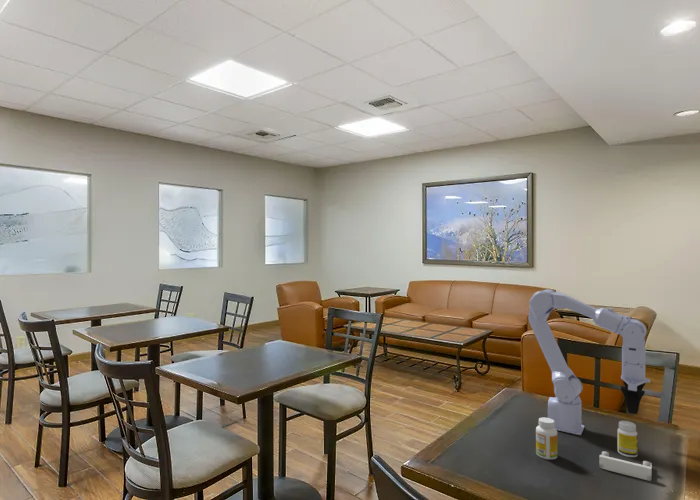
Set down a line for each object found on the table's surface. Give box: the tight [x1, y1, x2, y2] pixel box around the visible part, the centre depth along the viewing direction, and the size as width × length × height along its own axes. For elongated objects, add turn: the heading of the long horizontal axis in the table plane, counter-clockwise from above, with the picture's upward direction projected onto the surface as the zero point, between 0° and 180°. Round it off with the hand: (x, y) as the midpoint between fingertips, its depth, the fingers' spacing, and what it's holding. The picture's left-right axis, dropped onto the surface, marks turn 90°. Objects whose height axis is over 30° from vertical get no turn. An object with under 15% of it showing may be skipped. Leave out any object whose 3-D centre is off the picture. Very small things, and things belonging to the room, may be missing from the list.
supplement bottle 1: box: [535, 417, 558, 460], centre depth 117 cm, size 5×5×10 cm
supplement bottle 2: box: [616, 420, 639, 458], centre depth 118 cm, size 5×5×8 cm
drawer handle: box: [598, 450, 653, 482], centre depth 110 cm, size 11×8×3 cm
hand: (633, 409), depth 124 cm, fingers open, 7 cm apart
